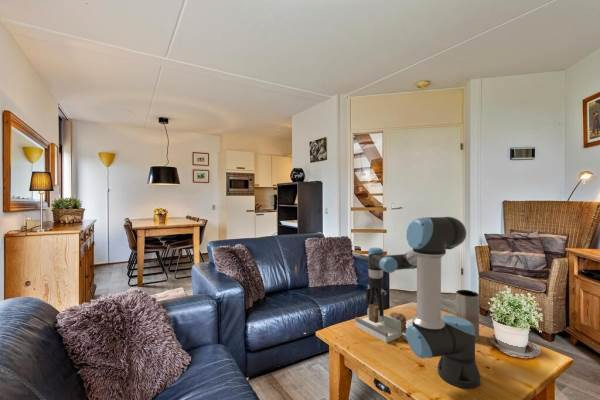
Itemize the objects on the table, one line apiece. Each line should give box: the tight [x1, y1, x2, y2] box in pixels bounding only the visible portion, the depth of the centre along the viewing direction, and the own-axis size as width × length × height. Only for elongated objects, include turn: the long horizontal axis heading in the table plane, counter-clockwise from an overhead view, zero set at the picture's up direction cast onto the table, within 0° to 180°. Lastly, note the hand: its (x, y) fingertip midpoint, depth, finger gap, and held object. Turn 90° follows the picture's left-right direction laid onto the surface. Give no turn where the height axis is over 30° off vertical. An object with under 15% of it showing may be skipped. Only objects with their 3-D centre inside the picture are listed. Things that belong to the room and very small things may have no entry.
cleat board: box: [354, 307, 402, 344], centre depth 155 cm, size 22×12×8 cm, turn 32°
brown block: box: [368, 302, 385, 323], centre depth 154 cm, size 5×7×8 cm
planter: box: [455, 289, 480, 342], centre depth 147 cm, size 10×10×23 cm
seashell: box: [389, 312, 407, 332], centre depth 159 cm, size 10×9×10 cm
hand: (376, 319), depth 154 cm, fingers closed on brown block, 5 cm apart
